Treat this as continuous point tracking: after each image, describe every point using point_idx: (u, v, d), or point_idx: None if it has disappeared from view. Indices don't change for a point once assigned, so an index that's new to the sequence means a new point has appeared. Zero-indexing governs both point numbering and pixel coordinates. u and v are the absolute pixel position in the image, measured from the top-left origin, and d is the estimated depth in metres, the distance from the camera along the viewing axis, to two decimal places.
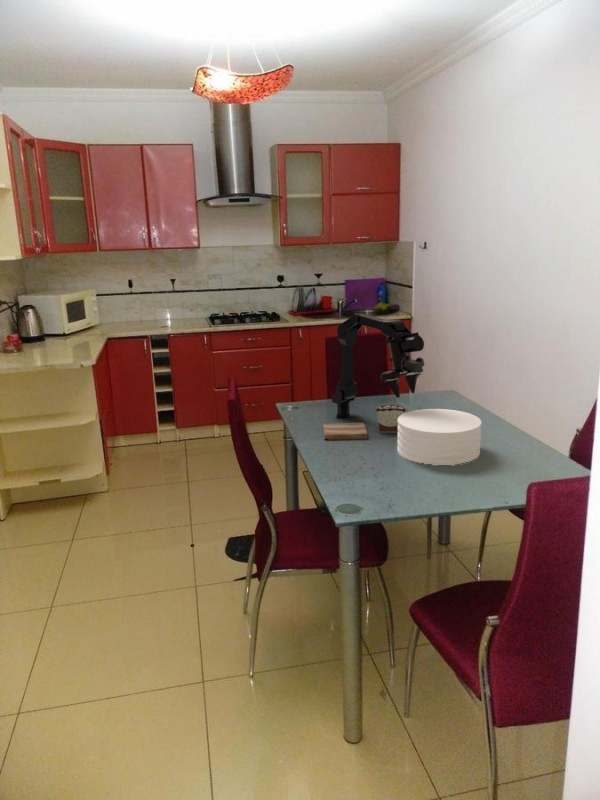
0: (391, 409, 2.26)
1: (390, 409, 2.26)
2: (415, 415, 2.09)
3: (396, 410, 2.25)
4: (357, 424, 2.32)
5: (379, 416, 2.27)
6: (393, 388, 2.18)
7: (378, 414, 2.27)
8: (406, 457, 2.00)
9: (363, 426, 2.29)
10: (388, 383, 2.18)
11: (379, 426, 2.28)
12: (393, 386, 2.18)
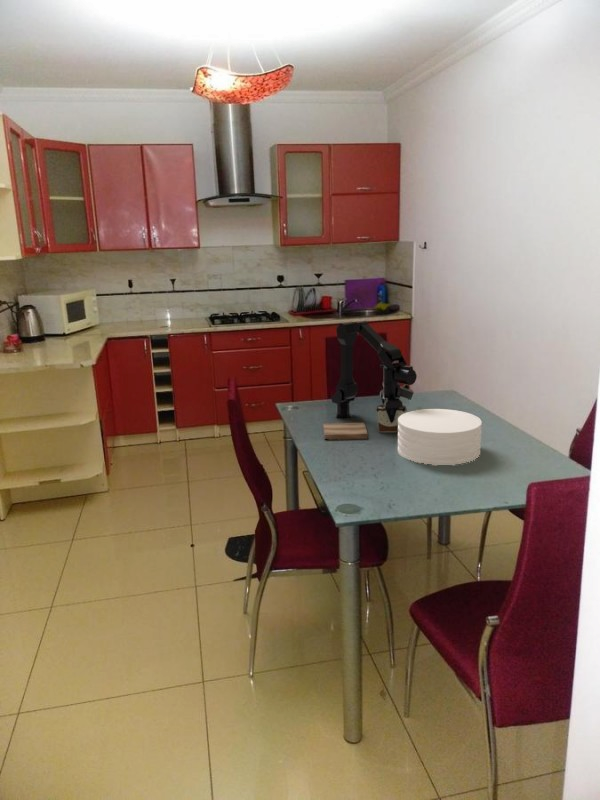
0: None
1: None
2: (415, 416, 2.09)
3: None
4: (357, 424, 2.32)
5: (379, 416, 2.27)
6: (390, 414, 2.24)
7: (378, 414, 2.27)
8: (406, 457, 2.00)
9: (363, 426, 2.29)
10: (387, 409, 2.23)
11: (379, 426, 2.28)
12: (391, 412, 2.24)
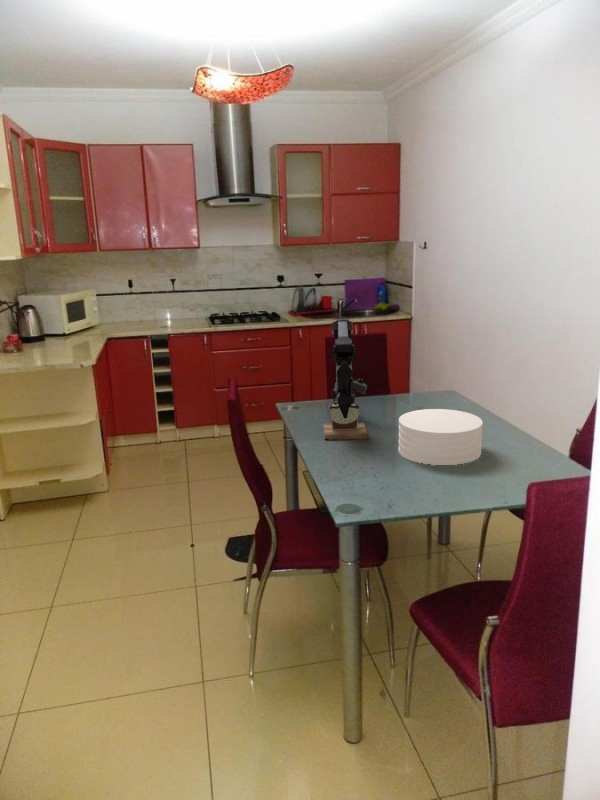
0: None
1: None
2: (416, 416, 2.09)
3: (349, 407, 2.24)
4: (357, 424, 2.32)
5: (333, 414, 2.25)
6: (343, 409, 2.20)
7: (331, 412, 2.24)
8: (407, 457, 2.00)
9: (363, 426, 2.29)
10: (340, 405, 2.18)
11: (333, 424, 2.26)
12: (344, 408, 2.20)
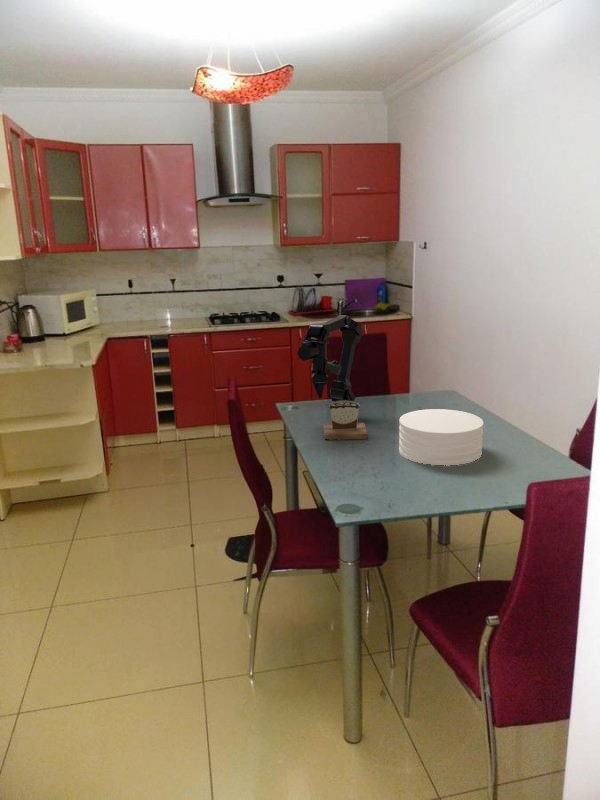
0: (344, 406, 2.24)
1: (343, 406, 2.24)
2: (416, 416, 2.09)
3: (349, 407, 2.24)
4: (357, 424, 2.32)
5: (333, 414, 2.25)
6: (318, 389, 2.28)
7: (331, 411, 2.25)
8: (408, 457, 1.99)
9: (363, 426, 2.29)
10: (315, 384, 2.27)
11: (333, 424, 2.26)
12: (318, 387, 2.28)
